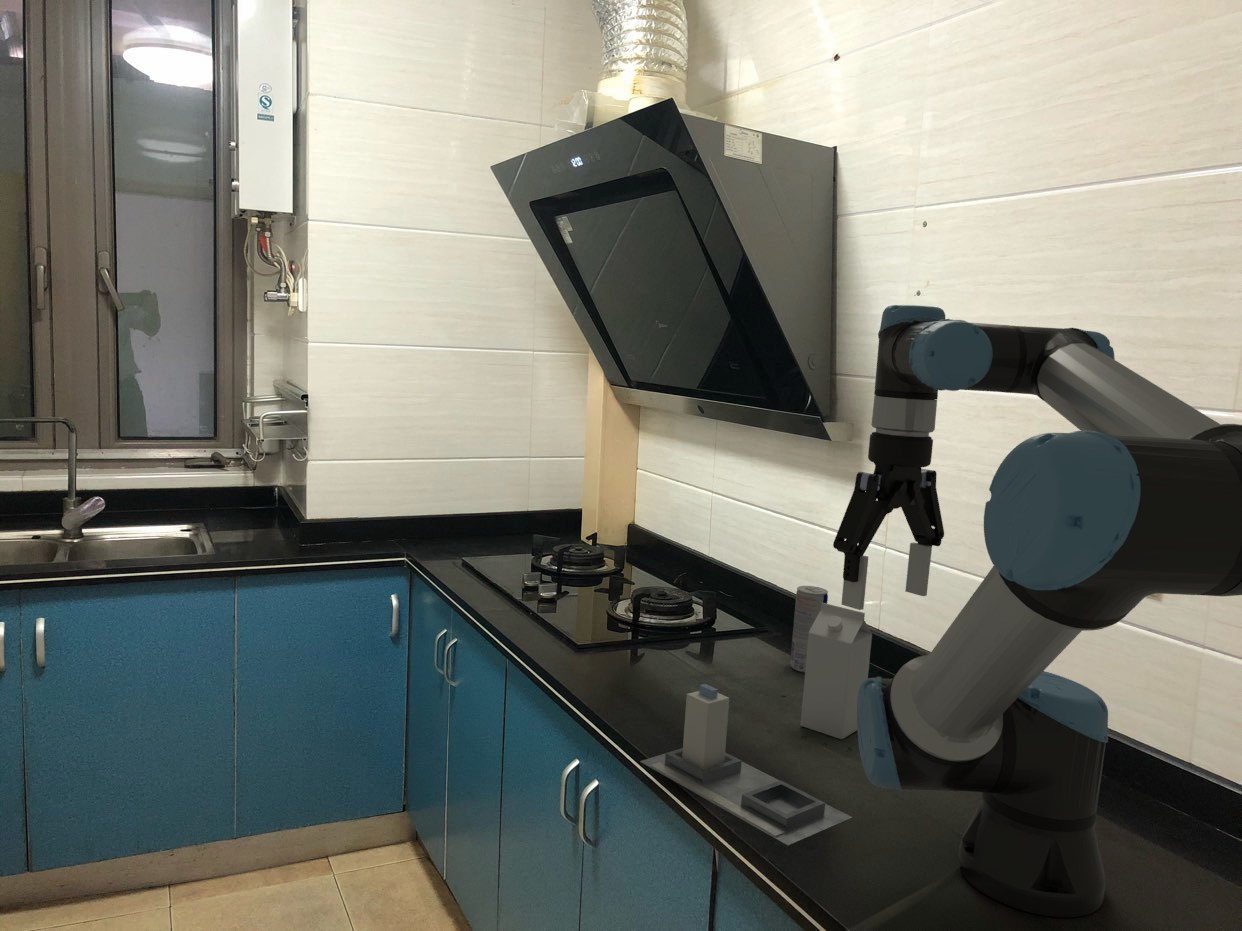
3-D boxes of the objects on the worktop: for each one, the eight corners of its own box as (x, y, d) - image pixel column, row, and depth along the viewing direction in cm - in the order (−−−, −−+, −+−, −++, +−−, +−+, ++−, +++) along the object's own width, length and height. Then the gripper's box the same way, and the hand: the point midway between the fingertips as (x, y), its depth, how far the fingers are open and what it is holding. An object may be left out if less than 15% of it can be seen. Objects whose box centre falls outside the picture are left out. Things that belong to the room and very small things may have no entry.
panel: (851, 824, 118) (853, 805, 118) (787, 853, 110) (789, 832, 110) (702, 748, 138) (703, 731, 138) (639, 768, 130) (640, 750, 130)
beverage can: (821, 676, 172) (828, 594, 170) (789, 672, 173) (796, 590, 171) (821, 666, 178) (828, 586, 176) (790, 662, 179) (797, 583, 177)
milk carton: (821, 714, 154) (832, 598, 151) (863, 727, 149) (874, 608, 147) (799, 726, 148) (810, 606, 146) (842, 740, 144) (854, 617, 141)
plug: (723, 769, 129) (730, 689, 128) (702, 776, 127) (708, 694, 125) (702, 758, 132) (708, 679, 131) (681, 765, 130) (687, 685, 128)
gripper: (931, 428, 130) (915, 582, 132) (813, 430, 114) (798, 605, 116) (982, 434, 124) (965, 595, 127) (866, 437, 108) (849, 621, 111)
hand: (885, 600), depth 121 cm, fingers open, 13 cm apart
